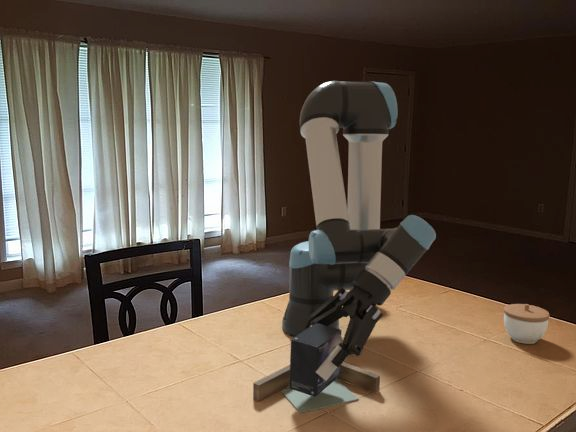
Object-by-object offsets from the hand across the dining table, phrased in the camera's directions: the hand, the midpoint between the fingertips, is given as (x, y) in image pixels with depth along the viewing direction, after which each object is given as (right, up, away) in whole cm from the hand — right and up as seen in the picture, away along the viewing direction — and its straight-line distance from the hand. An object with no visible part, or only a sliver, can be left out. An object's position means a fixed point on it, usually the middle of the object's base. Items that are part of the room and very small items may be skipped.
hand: (307, 364), depth 110 cm
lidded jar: (+57, -3, +33) cm, 66 cm away
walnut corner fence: (+2, -7, +3) cm, 8 cm away
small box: (+2, -4, +1) cm, 5 cm away
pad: (+2, -7, +3) cm, 8 cm away
